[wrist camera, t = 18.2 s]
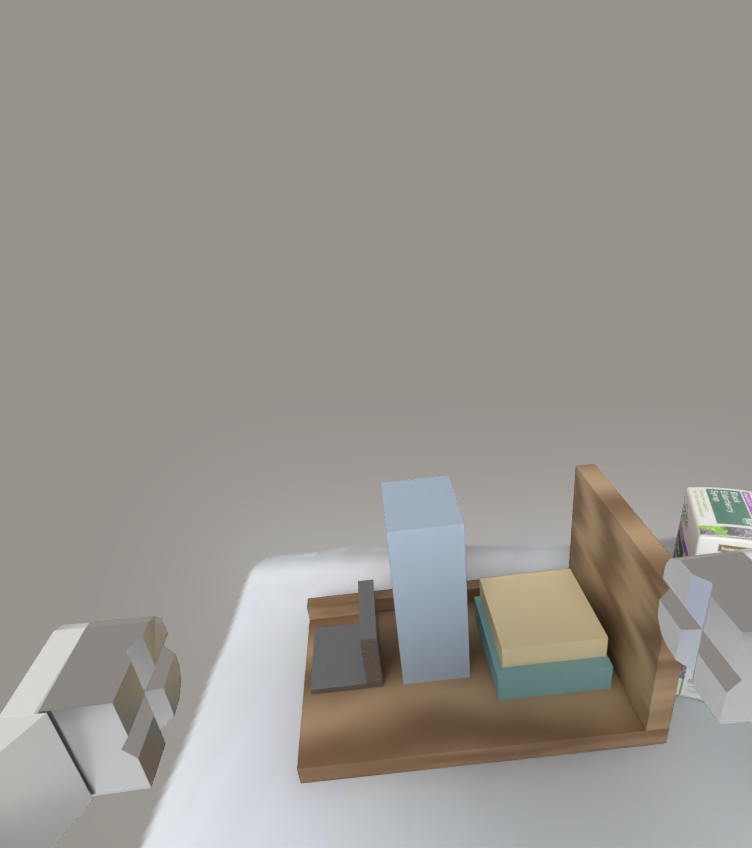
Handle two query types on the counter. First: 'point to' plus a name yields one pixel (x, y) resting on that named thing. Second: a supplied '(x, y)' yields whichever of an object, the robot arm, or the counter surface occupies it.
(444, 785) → the counter surface
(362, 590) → the bookend
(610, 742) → the shelf
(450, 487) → the light blue upright block
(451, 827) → the counter surface
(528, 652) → the book stack
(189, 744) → the counter surface
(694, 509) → the syrup box
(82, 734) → the robot arm
